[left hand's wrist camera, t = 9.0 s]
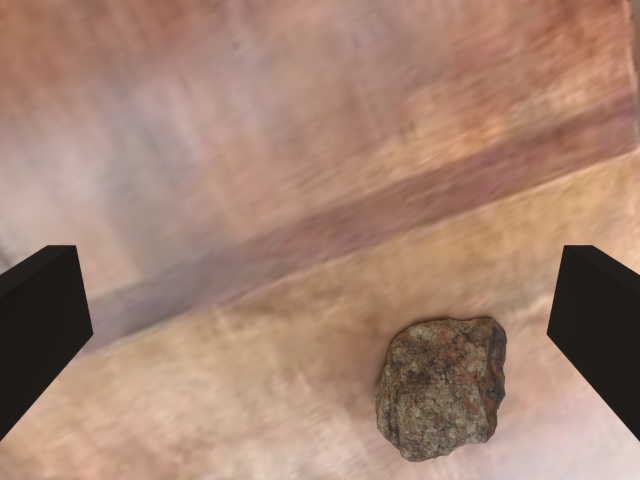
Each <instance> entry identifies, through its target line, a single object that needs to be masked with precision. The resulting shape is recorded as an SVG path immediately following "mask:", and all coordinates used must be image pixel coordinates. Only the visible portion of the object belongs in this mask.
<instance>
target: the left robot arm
mask: <svg viewBox="0 0 640 480" xmlns="http://www.w3.org/2000/svg"><path fill="white" fill-rule="evenodd" d="M92 335H93V329H92V324H91V319H90V314H89V309H88V304H87V299H86V294H85V289H84V284H83V279H82V274H81V269H80V263H79V258H78V253H77V248H76V245H47V246H46V247H44V248H42V249H41V250H39V251H38V252H36V253H34V254H33V255H31V256H30V257H28V258H27V259H25V260H23V261H22V262H20V263H19V264H17V265H15V266H14V267H12V268H11V269H9V270H8V271H6V272H4V273H3V274H1V275H0V441H1V440H2V439H3V438H4V437H5V436H6V434H7V433H8V432H9V431H10V430H11V429H12V428H13V426H14V425H15V424H16V423H17V422H18V421H19V420H20V418H21V417H22V416H23V415H24V414H25V413H26V411H27V410H28V409H29V408H30V407H31V406H32V405H33V403H34V402H35V401H36V400H37V399H38V398H39V396H40V395H41V394H42V393H43V392H44V391H45V390H46V388H47V387H48V386H49V385H50V384H51V383H52V381H53V380H54V379H55V378H56V377H57V376H58V375H59V373H60V372H61V371H62V370H63V369H64V368H65V367H66V365H67V364H68V363H69V362H70V361H71V360H72V358H73V357H74V356H75V355H76V354H77V353H78V352H79V350H80V349H81V348H82V347H83V346H84V345H85V343H86V342H87V341H88V340H89V339H90V338H91V337H92ZM547 335H548V337H549V338H550V339H551V340H552V341H553V342H554V343H555V345H556V346H557V347H558V348H559V349H560V350H561V352H562V353H563V354H564V355H565V356H566V357H567V358H568V360H569V361H570V362H571V363H572V364H573V365H574V367H575V368H576V369H577V370H578V371H579V372H580V373H581V375H582V376H583V377H584V378H585V379H586V380H587V381H588V383H589V384H590V385H591V386H592V387H593V388H594V390H595V391H596V392H597V393H598V394H599V395H600V396H601V398H602V399H603V400H604V401H605V402H606V403H607V405H608V406H609V407H610V408H611V409H612V410H613V411H614V413H615V414H616V415H617V416H618V417H619V418H620V420H621V421H622V422H623V423H624V424H625V425H626V426H627V428H628V429H629V430H630V431H631V432H632V433H633V434H634V436H635V437H636V438H637V439H638V440H639V441H640V275H639V274H637V273H636V272H634V271H632V270H631V269H629V268H628V267H626V266H625V265H623V264H621V263H620V262H618V261H617V260H615V259H613V258H612V257H610V256H609V255H607V254H606V253H604V252H602V251H601V250H599V249H598V248H596V247H594V246H593V245H564V248H563V253H562V258H561V263H560V269H559V274H558V279H557V284H556V289H555V294H554V299H553V304H552V309H551V314H550V319H549V324H548V329H547Z"/></svg>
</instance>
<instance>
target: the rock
mask: <svg viewBox="0 0 640 480" xmlns="http://www.w3.org/2000/svg"><path fill="white" fill-rule="evenodd" d="M506 343H507V339H506V334H505V331H504V329H503V328H502V327H501V326H500V325H499V324H498V323H497V322H496V321H495V320H494V319H491V318H488V317H487V318H480V319H472V320H471V321H459V320H452V319H448V320H442V321H439V320H437V321H430V322H428V323H422V324H418V325H415V326H412V327H410V328H408V329H407V330H406V331H404V332H402V333H400V334H399V335H398V336H397V337H396V338H395V339H394V340H393V342H392V343H391V344H390V346H389V349H388V352H387V362H386V365H385V367H384V369H383V371H382V375H381V378H380V381H379V383H378V384H377V387H376V388H375V399H374V400H375V403H376V413H377V428H378V429H379V430H380V432H381V434H382V435H383V436H384V437H385V438H386V439H387V440H388V441H389V442H391V443H392V444H393V445H394V446H395V447H396V448H397V449H399V450H400V453H401V456H402V457H403V458H405V459H406V460H408V461H410V462H422V461H425V460H428V459H431V458H437V457H439V456H444V455H449V454H450V453H451V452H452V451H454V450H455V449H456V448H458V447H460V446H462V445H466V444H478V443H486V442H487V441H488V440H489V438H490V437H491V436H492V435H494V432H495V429H496V426H497V409H499V405H500V403H501V401H502V400H503V398H504V396H505V395H506V394H505V389H504V383H505V376H504V372H503V365H504V362H505V354H506Z"/></svg>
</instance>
